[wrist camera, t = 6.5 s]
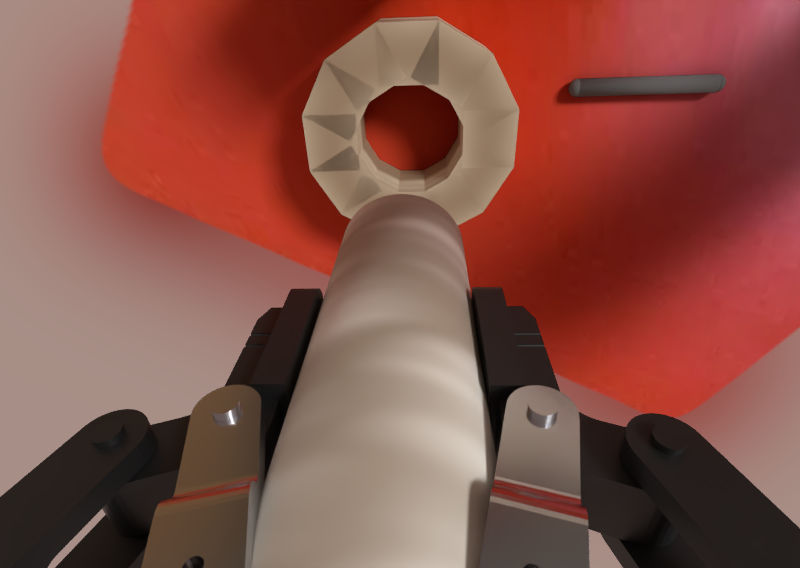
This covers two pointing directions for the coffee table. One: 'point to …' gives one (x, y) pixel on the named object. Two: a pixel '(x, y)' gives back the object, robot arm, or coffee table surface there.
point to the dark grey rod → (647, 85)
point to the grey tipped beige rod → (385, 408)
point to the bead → (400, 66)
